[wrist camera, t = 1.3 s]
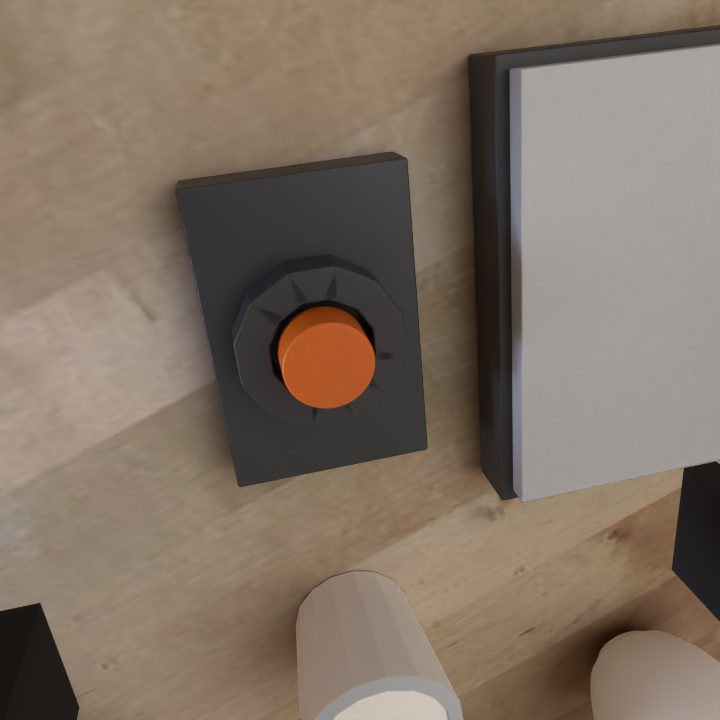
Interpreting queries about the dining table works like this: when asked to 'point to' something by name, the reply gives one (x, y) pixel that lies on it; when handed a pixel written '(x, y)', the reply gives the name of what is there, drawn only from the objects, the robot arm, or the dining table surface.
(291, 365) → the button
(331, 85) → the dining table surface
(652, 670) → the sauce bottle
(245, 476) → the block
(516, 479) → the scale
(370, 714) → the white cup
